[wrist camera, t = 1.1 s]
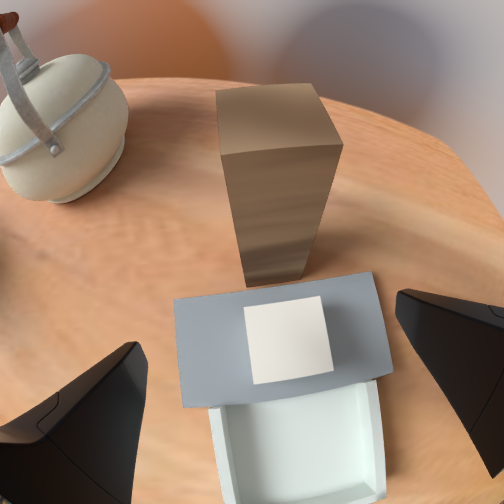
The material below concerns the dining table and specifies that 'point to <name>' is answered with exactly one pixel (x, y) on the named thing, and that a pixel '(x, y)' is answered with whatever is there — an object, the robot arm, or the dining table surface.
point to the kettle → (57, 121)
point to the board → (237, 349)
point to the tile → (287, 340)
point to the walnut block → (276, 174)
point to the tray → (302, 448)
